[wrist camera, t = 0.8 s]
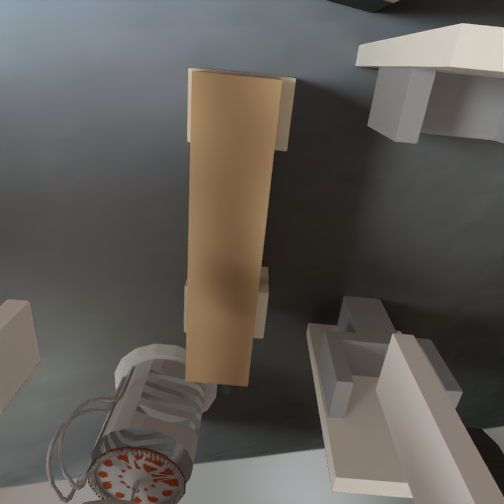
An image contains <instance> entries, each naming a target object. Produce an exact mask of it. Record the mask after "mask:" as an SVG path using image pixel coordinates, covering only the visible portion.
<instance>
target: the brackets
mask: <svg viewBox="0 0 504 504" xmlns="http://www.w3.org/2000/svg"><path fill="white" fill-rule="evenodd" d="M356 66H360V67H370V68H379V72H378V77H377V82H376V86H375V91H374V96H373V101H372V106H371V111H370V115H369V120H368V125H367V126H368V127H370V128H372V129H374V130H375V131H377V132H379V133H381V134H382V135H384V136H386V137H388V138H389V139H391V140H393V141H395V142H405V143H415V144H417V142H418V138H419V134H420V133H424V134H434V135H445V136H455V137H465V138H476V139H486V140H494V141H497V142H501V143H504V27H494V26H484V25H475V24H465V23H461V24H456V25H451V26H447V27H442V28H437V29H432V30H428V31H423V32H418V33H413V34H409V35H404V36H399V37H395V38H390V39H385V40H380V41H376V42H371V43H366V44H361V45H359V49H358V55H357V60H356ZM393 333H396V334H402V333H401V331H396V330H395V328H394V326H393V324H392V322H391V320H390V318H389V316H388V314H387V312H386V310H385V308H384V306H383V304H382V302H381V300H380V299H375V298H364V297H353V296H344V297H343V302H342V306H341V310H340V315H339V319H338V324H337V325H327V324H316V323H308V327H307V333H306V336H307V342H308V348H309V354H310V360H311V366H312V372H313V378H314V385H315V391H316V397H317V403H318V409H319V415H320V421H321V427H322V433H323V439H324V445H325V452H326V458H327V464H328V469H329V476H330V482H331V488H332V492H344V493H355V494H356V493H357V494H368V495H381V496H393V497H405V498H413V497H412V494H411V491H410V488H409V485H408V482H407V479H406V476H405V474H404V471H403V468H402V465H401V462H400V459H399V456H398V453H397V450H396V448H395V445H394V442H393V439H392V436H391V433H390V430H389V427H388V424H387V422H386V419H385V416H384V413H383V410H382V407H381V404H380V401H379V398H378V396H377V393H376V387H377V384H378V380H379V377H380V374H381V370H382V367H383V364H384V360H385V357H386V354H387V350H388V347H389V344H390V340H391V337H392V334H393ZM415 339H416V341H417V342H418V344H419V346H420V348H421V349H422V351H423V353H424V355H425V357H426V358H427V360H428V362H429V364H430V366H431V367H432V369H433V371H434V373H435V375H436V376H437V378H438V380H439V382H440V384H441V385H442V387H443V389H444V391H445V393H446V394H447V396H448V398H449V400H450V401H451V403H452V405H453V407H454V409H456V407H457V405H458V402H459V400H460V398H461V395H462V393H463V391H462V390H461V388H460V386H459V385H458V383H457V381H456V380H455V378H454V377H453V375H452V373H451V372H450V370H449V368H448V367H447V365H446V364H445V362H444V360H443V359H442V357H441V355H440V354H439V352H438V351H437V349H436V347H435V346H434V344H433V342H432V341H431V339H421V338H415Z"/></svg>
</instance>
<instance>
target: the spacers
mask: <svg viewBox="0 0 504 504" xmlns="http://www.w3.org/2000/svg"><path fill="white" fill-rule="evenodd" d="M201 70H211V71H221V72H231V73H242V74H252V75H262V76H272V77H279V78H280V79H281V80H282V87H281V96H280V105H279V114H278V123H277V132H276V141H275V149H274V150H278V151H287V146H288V138H289V130H290V122H291V114H292V107H293V99H294V91H295V83H296V79H295V78H293V77H286V76H276V75H266V74H256V73H246V72H236V71H226V70H215V69H205V68H188V118H187V142H190V133H191V86H192V71H201ZM268 297H269V279H268V267H261V274H260V283H259V292H258V301H257V310H256V318H255V327H254V336H253V338H261V339H263V337H264V329H265V321H266V313H267V305H268ZM186 322H187V280H186V283H185V288H184V332H186Z"/></svg>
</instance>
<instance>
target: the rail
mask: <svg viewBox="0 0 504 504" xmlns="http://www.w3.org/2000/svg"><path fill="white" fill-rule="evenodd" d="M281 87H282V80H281V79H280V78H279V77H272V76H262V75H252V74H242V73H231V72H221V71H211V70H201V71H192V86H191V133H190V180H189V227H188V275H187V322H186V369H185V381H188V382H199V383H211V384H223V385H235V386H246V387H248V381H249V372H250V363H251V354H252V345H253V336H254V327H255V318H256V310H257V301H258V292H259V283H260V274H261V265H262V256H263V247H264V238H265V230H266V221H267V212H268V203H269V194H270V185H271V176H272V167H273V158H274V149H275V141H276V132H277V123H278V114H279V105H280V96H281Z"/></svg>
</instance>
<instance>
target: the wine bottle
mask: <svg viewBox="0 0 504 504" xmlns="http://www.w3.org/2000/svg"><path fill="white" fill-rule="evenodd" d="M328 1H331V2H335V3H339V4H342V5H346V6H350V7H353V8H357V9H361V10H364V11H368V12H372V13H374V12H376V11H378V10H380V9H382V8H384V7H386V6H388V5H390V4H393V3H395V2H397V1H399V0H328Z"/></svg>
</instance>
